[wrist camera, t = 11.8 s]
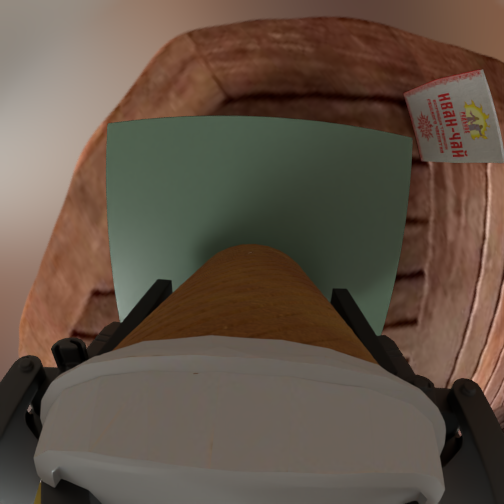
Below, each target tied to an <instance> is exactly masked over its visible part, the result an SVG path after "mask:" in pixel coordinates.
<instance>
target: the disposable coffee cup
mask: <svg viewBox="0 0 504 504" xmlns="http://www.w3.org/2000/svg"><path fill="white" fill-rule="evenodd" d="M40 419H41V423H42V426H43V428H42V431H41V435H40V438H39V441H38V444H37V447H36V451H35V454H34V462H35V467H36V471H37V475H38V476H39V477H40V478H41V480H42V481H43V482H45V483H47V484H49V485H50V486H52V487H54V488H55V487H56V485H57V484H58V482H59V481H60V479H64V480H67V481H69V482H71V483H73V484H76V485H78V486H80V487H83V488H85V489H87V490H89V491H90V492H91V493H92V494H93V495H94V496H95V497H96V498H97V499H98V500H99V501H100V502H101V503H102V504H405V503H408V502H411V501H418V503H419V504H437V503H438V502H439V501H440V499H441V497H442V495H443V493H444V491H445V485H444V479H443V472H442V467H441V461H440V454H441V452H442V449H443V447H444V444H445V435H446V427H445V421H444V419H443V417H442V415H441V413H440V411H439V409H438V407H437V406H436V405H435V404H434V403H433V402H432V401H431V400H430V399H429V398H428V397H427V396H426V395H425V394H424V393H423V392H422V391H421V390H420V389H419V388H417V387H415V386H413V385H411V384H410V383H408V382H406V381H404V380H402V379H400V378H399V377H397V376H395V375H393V374H391V373H389V372H387V371H386V370H385V369H383V368H382V367H381V366H380V365H379V364H378V363H377V361H376V360H375V359H374V358H373V356H372V355H371V354H370V352H369V351H368V350H367V349H366V347H365V346H364V345H363V343H362V342H361V341H360V340H359V339H358V337H357V336H356V335H355V334H354V332H353V330H352V329H351V328H350V327H349V326H348V325H347V324H346V322H345V321H344V320H343V319H342V317H341V316H340V315H339V314H338V312H337V311H336V310H335V309H334V307H333V306H332V305H331V304H330V303H329V302H328V300H327V298H326V297H325V296H324V295H323V294H322V293H321V291H320V290H319V289H318V288H317V286H315V285H314V283H313V282H312V281H311V280H310V278H309V277H308V276H307V275H306V273H305V272H304V271H303V270H302V268H301V267H300V266H299V265H298V264H297V263H296V262H295V261H294V260H293V259H292V258H291V257H289V256H288V255H286V254H285V253H283V252H281V251H280V250H277V249H274V248H272V247H269V246H264V245H258V244H242V245H237V246H233V247H229V248H227V249H225V250H222V251H220V252H218V253H217V254H215V255H214V256H213V257H212V258H210V259H209V260H208V261H207V262H206V263H205V264H204V265H202V266H201V267H200V268H199V269H198V270H197V271H196V272H195V273H194V274H193V275H191V276H190V277H189V278H188V279H187V280H186V281H185V282H184V283H183V284H181V285H180V286H179V288H177V289H176V290H175V291H174V292H173V293H172V294H171V295H170V296H169V297H168V298H167V299H166V300H165V301H163V302H162V303H161V304H160V305H159V306H158V307H157V308H156V309H155V310H154V311H153V312H152V313H151V314H150V315H149V316H147V317H146V318H145V319H144V320H143V321H142V322H141V323H140V324H139V325H138V326H137V327H136V328H135V329H134V330H133V331H132V332H131V333H130V334H129V335H128V336H127V337H125V338H124V339H123V340H122V341H121V342H120V343H119V344H118V346H117V347H115V348H114V349H113V350H112V351H111V352H107V353H104V354H102V355H100V356H94V357H92V358H91V359H89V360H87V361H85V362H83V363H81V364H79V365H78V366H76V367H74V368H72V369H70V370H68V371H66V372H64V373H62V374H61V375H59V376H58V377H57V378H56V379H55V380H54V381H52V382H51V384H50V386H49V387H48V389H47V391H46V393H45V395H44V396H43V398H42V400H41V413H40Z"/></svg>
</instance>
